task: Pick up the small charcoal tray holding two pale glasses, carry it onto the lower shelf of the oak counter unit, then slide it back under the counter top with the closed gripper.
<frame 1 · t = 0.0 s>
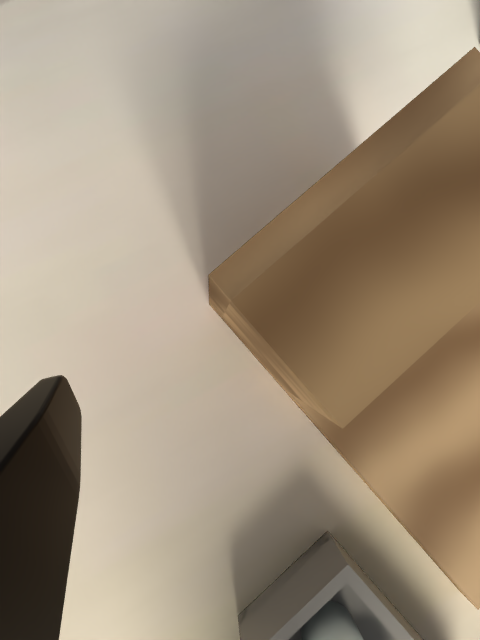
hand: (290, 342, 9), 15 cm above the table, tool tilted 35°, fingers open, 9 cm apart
counter: (402, 375, 24), on the table
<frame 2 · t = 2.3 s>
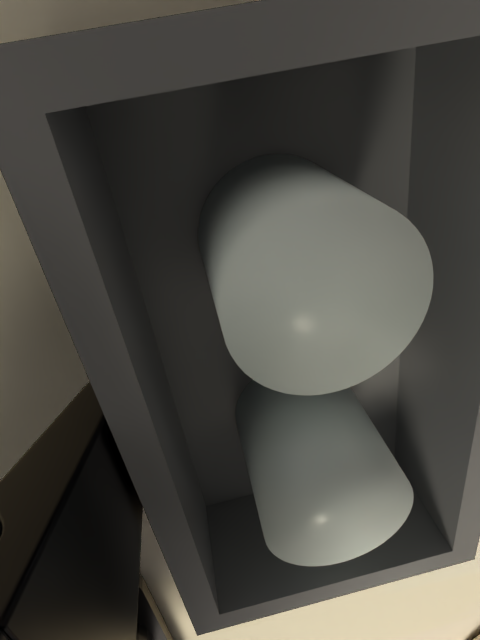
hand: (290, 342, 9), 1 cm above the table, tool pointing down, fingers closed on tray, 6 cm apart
tray: (275, 313, 10), on the table, touching gripper
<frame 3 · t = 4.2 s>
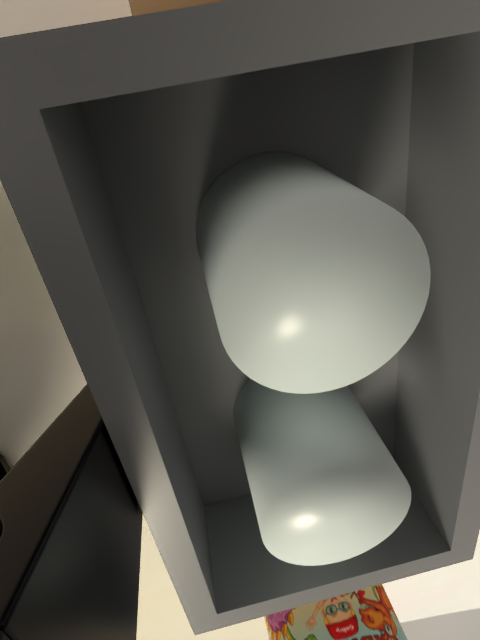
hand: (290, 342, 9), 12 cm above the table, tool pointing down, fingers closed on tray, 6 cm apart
milk bottle: (298, 530, 32), on the table
counter: (283, 27, 17), on the table
tray: (273, 312, 10), point 11 cm above the table, touching gripper
when the fingers open (4 cm above the table, at t = 6.3 s): tray drops 1 cm, resting on counter.
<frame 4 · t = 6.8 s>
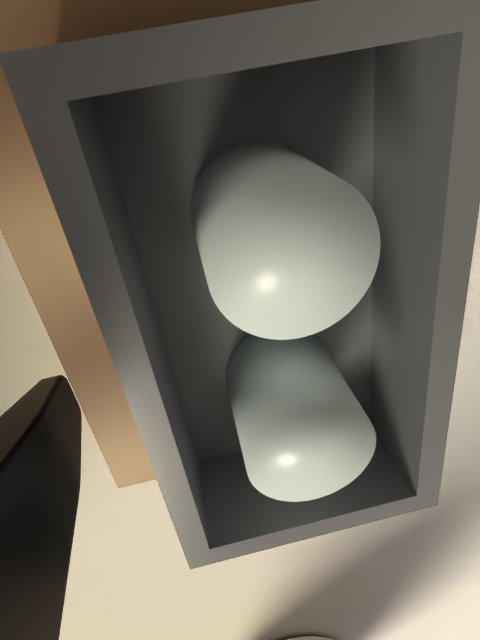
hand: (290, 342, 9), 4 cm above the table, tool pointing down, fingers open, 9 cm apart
counter: (221, 62, 10), on the table
tray: (260, 285, 11), point 2 cm above the table, touching counter
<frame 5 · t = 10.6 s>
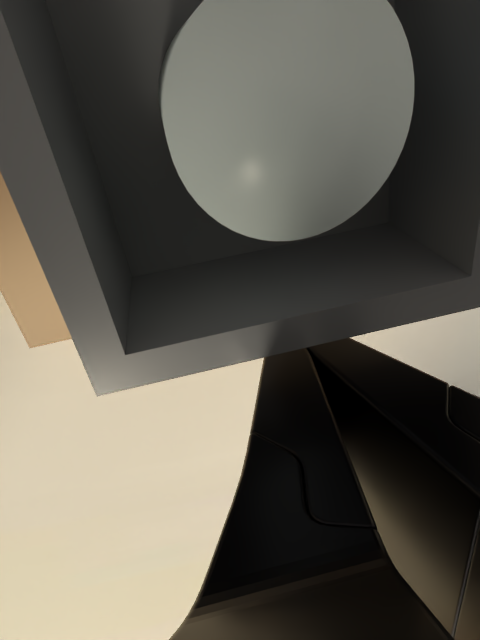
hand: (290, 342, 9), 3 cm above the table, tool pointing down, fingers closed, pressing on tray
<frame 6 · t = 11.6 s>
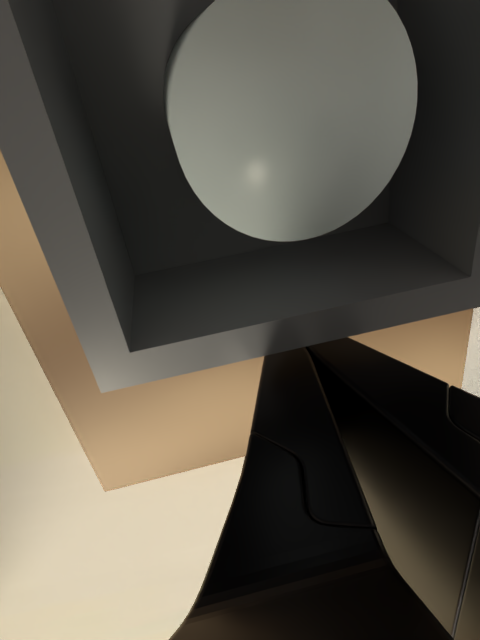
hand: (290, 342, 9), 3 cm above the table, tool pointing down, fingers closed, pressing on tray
counter: (211, 3, 9), on the table
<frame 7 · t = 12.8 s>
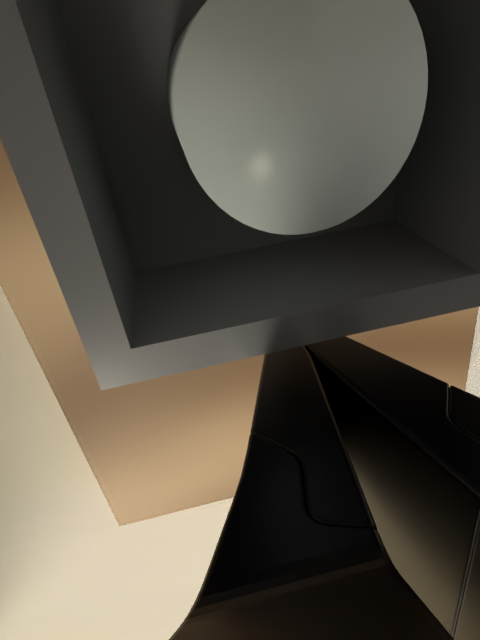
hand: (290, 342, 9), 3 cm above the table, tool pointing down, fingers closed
counter: (229, 88, 9), on the table
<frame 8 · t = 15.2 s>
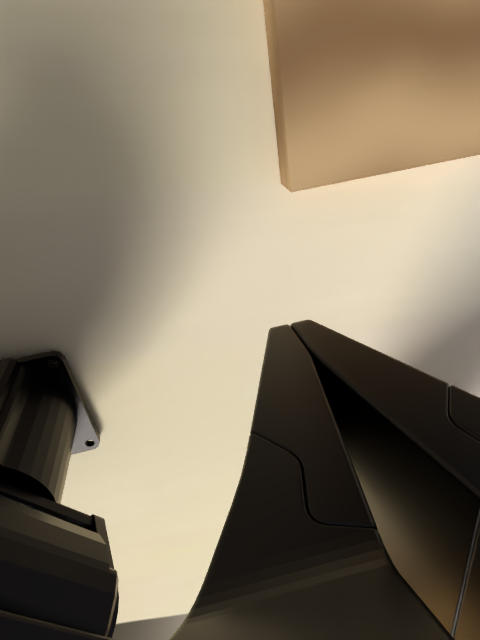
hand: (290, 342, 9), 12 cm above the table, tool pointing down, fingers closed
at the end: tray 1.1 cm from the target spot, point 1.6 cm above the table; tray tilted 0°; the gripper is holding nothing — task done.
